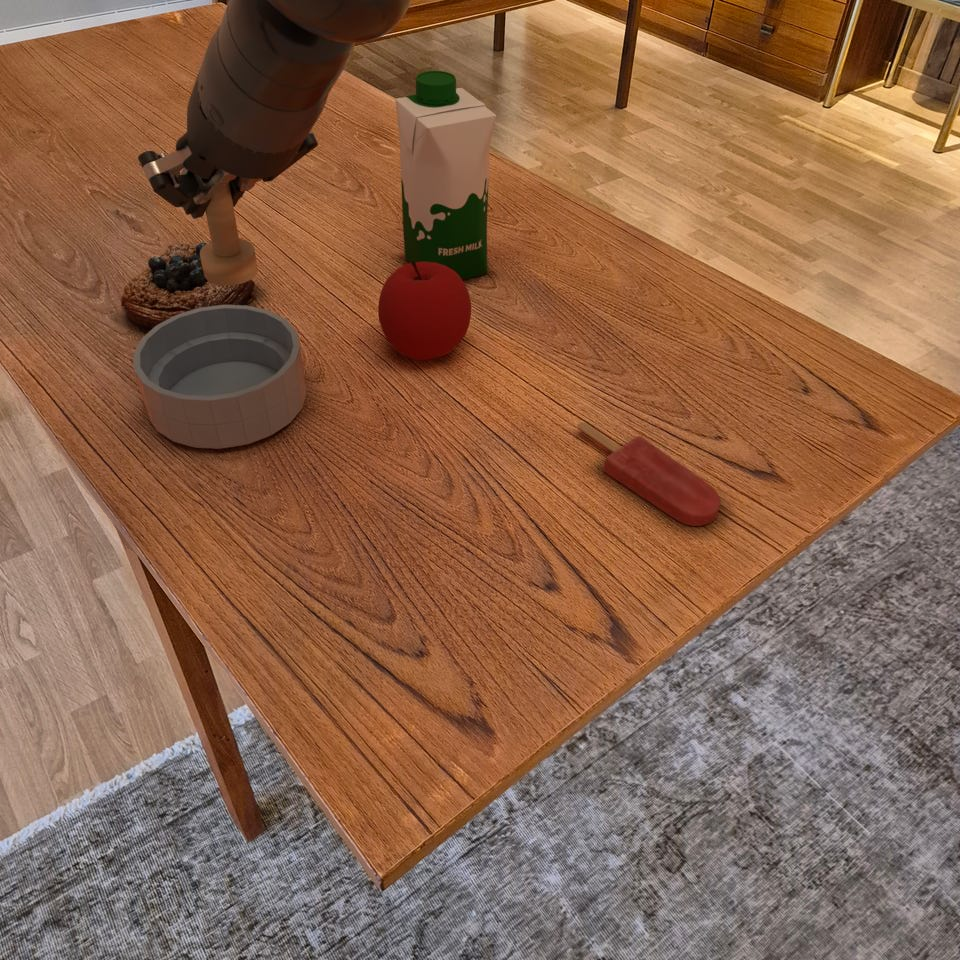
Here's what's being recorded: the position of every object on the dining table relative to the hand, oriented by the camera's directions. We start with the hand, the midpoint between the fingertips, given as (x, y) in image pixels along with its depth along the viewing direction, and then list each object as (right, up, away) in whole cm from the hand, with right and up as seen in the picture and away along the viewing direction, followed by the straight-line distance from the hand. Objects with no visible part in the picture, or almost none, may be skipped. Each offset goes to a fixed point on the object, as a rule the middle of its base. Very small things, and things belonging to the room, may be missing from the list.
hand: (207, 201), depth 72 cm
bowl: (-1, -15, +11) cm, 19 cm away
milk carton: (+18, +2, +29) cm, 34 cm away
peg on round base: (+1, -5, +3) cm, 6 cm away
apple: (+16, -9, +18) cm, 26 cm away
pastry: (-8, -4, +22) cm, 24 cm away
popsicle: (+36, -22, +5) cm, 42 cm away
